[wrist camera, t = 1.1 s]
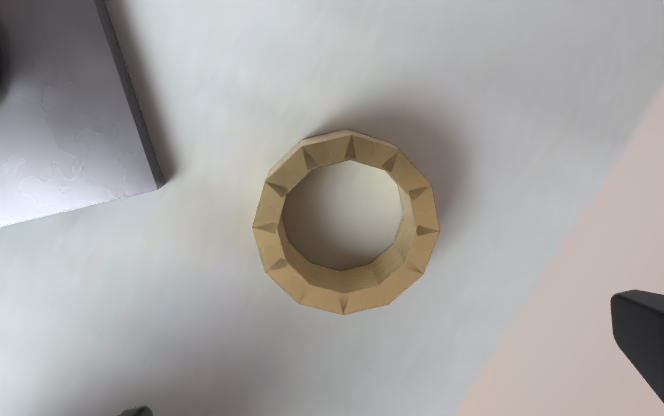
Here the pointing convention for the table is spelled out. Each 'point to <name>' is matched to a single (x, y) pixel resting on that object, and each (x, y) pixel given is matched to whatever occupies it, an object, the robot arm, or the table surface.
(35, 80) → the piston stand
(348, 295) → the ring
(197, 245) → the table surface
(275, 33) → the table surface
